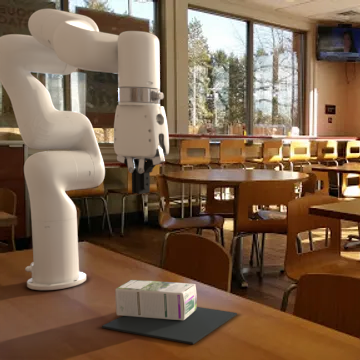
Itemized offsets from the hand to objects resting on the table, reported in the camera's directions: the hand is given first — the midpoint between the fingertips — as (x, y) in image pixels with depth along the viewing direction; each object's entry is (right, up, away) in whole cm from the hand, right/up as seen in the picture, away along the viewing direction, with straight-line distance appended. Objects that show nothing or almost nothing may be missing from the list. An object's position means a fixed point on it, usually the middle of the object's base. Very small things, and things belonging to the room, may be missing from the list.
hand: (140, 192), depth 97 cm
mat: (+7, -25, -2) cm, 26 cm away
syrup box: (-4, -21, +2) cm, 21 cm away
